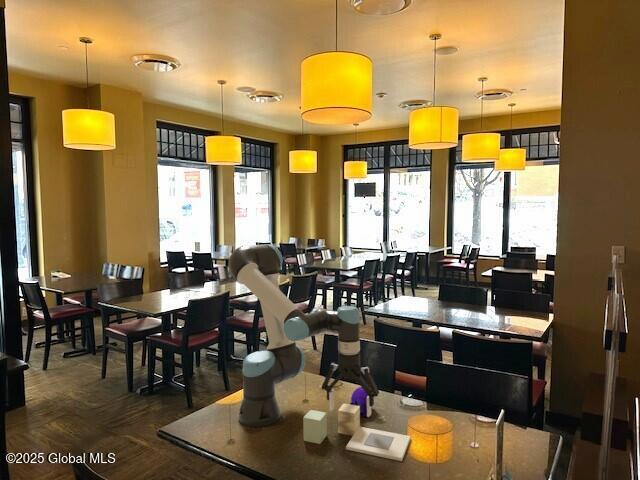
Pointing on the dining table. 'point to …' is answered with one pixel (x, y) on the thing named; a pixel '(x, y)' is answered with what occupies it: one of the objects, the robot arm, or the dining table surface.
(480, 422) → the dining table surface
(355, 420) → the block maple
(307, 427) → the block sage
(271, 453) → the dining table surface
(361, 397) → the toy
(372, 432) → the base plate
